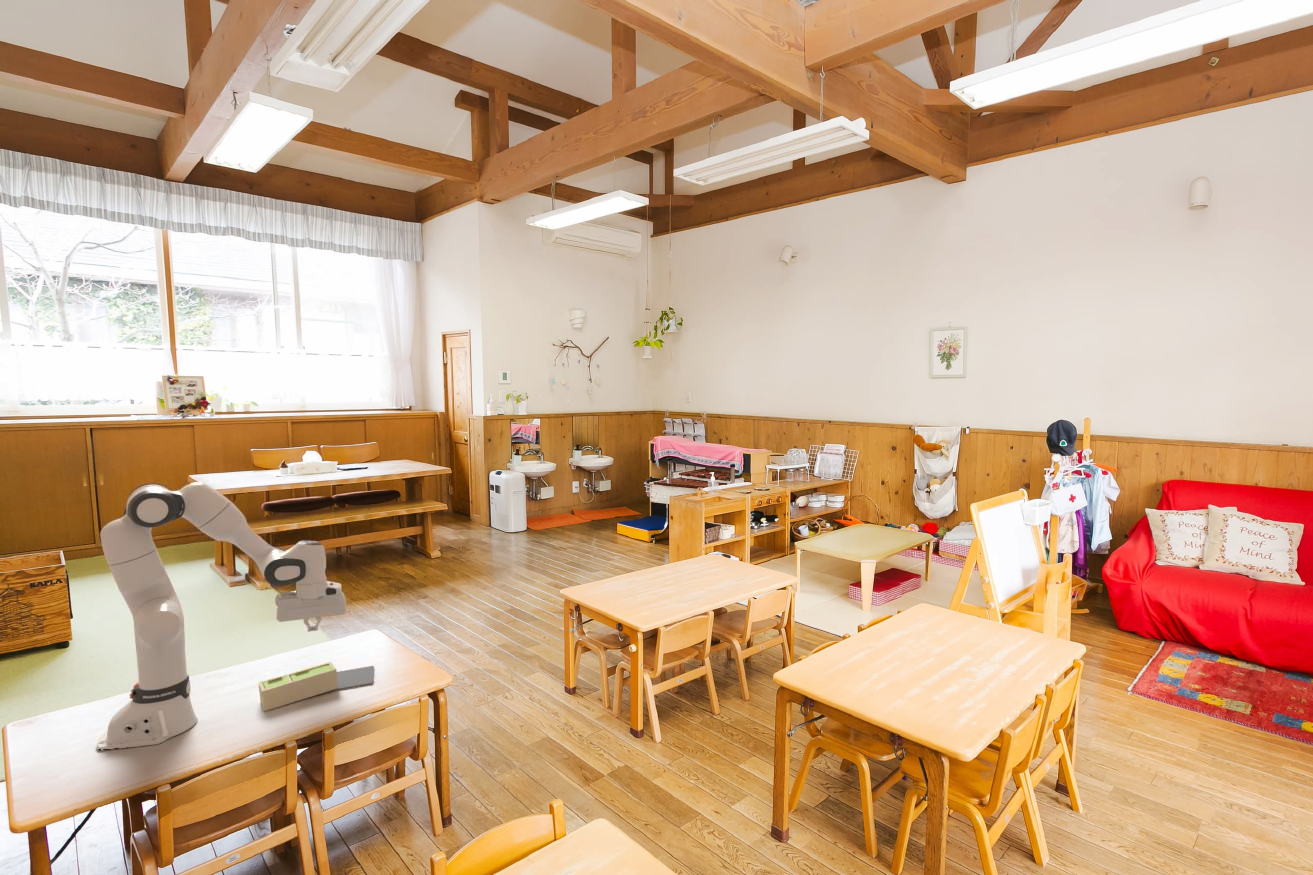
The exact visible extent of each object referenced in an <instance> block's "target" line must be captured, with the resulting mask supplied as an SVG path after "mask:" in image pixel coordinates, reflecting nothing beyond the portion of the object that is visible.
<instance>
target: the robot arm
mask: <svg viewBox="0 0 1313 875" xmlns="http://www.w3.org/2000/svg"><path fill="white" fill-rule="evenodd" d="M180 518H183V519H185V520H187V521H188V522H189V523H191V525H193V526H195V527H196V528H197V529H198V530H199V531H201V532H202V533H203V534H204V535H207V536H208V537H210V538H211V539H214V540H216V542H225V543H226V542H227V543H230V544H232V545H234V546H236V547H237V548H238V549H240V550H241V551H242V552H243V553H245V555H247V556H249V557H250V558H251V559H252V560H253V561H254V562H255V566H256V569H257V571H258V572H259V574H260V575H262V576H263V579H264V580H265V582H267V583H268V584H269V585H271V586H273V587H284V586H288V585H291V584H294V583H295V588H296V589H295V590H293V591H283V592H280V593H279V594H276V596H275V598H274V600H275V605H276V606H277V609H276V620H277V622H279V623H281V622H291V621H301V620H303V624H304V625H305V626H306V627H307V632H308V633H310V632H316V631H318V630H319V624H320V623H321V621H322V618H326V617H334V616H341V615H345V613H346V612H347V610H348V609H347V600H346V595H345V593H344V592H343V591H342V588H343V586H342V584H341V583H339V582H334V581H330V580H328V579H327V578H328V577H327V576H326V568H327V557H326V550H325V546H324V545H323V544H322V543H320V542H319V541H316V540H310V539H307V540H300V541H298V542H297V543H295V544H294V545H293V546H292V547H290V548H289V549H287V550H286V549H284V548H281V547H278V546H273V545H271V544H270V543H268V542H267V541H266V540H265V539H263V538H262V537H261V536H260V535H258V534H257V532H255V531H254V530H253V529H252V528H251V527H250V525H249V524H248V521H247V518H246V517H245V515H244V513H242V512H241V510H240V509H239V508H238V507H237V505H235V503H233V502H232V501H231V500H230V499H228V498H227V497H226V496H225V495H223V494H222V493H220V492H219V491H218V490H216V489H215V488H213V487H211V486H210V485H207V484H206V483H204V482H201V481H196V482H195V481H194V482H192V483H188V484H187V485H184V486H183V487H182V488H181V489H178V490H170V489H169V488H168V487H167V486H165V485H163V484H159V483H154V482H153V483H144V484H142V485H140V486H138V487H136V488H135V489H133V490H132V491H131V492H130V493H129V496H128V498H127V501H126V506H125V509H124V512H123V516H122V517H120V518H117V519H114V520H112V521H110V522H108V523H106V524H105V525H104V526H103V527H102V529H101V530H100V533H99V534H100V535H99V536H100V537H99V538H100V543H101V547H102V550H103V554H104V558H105V560H106V563H107V565H108V567H109V570H110V571H111V574H112V577H113V579H114V581H115V584H116V586H117V588H118V590H119V592H120V594H121V595H122V597H123V599H124V601H125V603H126V605H127V606H128V609H129V611H130V613H131V615H132V619H133V630H134V640H135V652H136V653H135V654H136V662H137V663H136V664H137V674H138V675H137V676H138V681H137V682H135V684H134V685H133V687H132V689H131V690H130V693H129V699H131V700H130V701H128V703H126V704H124V706H123V707H121V708H120V709H119V710H118V711H117V712H116V713H115V714H114V715H113V716H112V718H111V719H110V721H109V723H108V726H107V730H106V731H105V732H104V733H103V734H102V735H101V736H100V738H99V739H98V741H97V743H96V745H97V746H96V748H97V747H98V749H111V750H114V749H113V748H119V749H126V748H127V747H128V748H135V747H144V746H146V747H147V746H153V745H154V746H155V745H159V744H162V743H163V742H165V741H167V740H168V739H171V738H172V737H175V736H177V735H179V734H183V733H184V732H186V731H187V730H190V729H191V728H192V727H193V726H194V725H195V724H197V722H198V717H197V715H196V713H195V711H194V708H193V705H192V702H191V696H190V694H191V681H190V676H189V674H188V673H187V672H188V670H187V669H188V668H187V658H186V657H187V656H186V636H185V635H186V634H185V619H184V613H183V610H182V605H181V603H180V599H179V597H178V595H177V593H176V591H175V589H174V586H173V583H172V581H171V579H170V576H169V574H168V572H167V571H166V568H165V566H164V563H163V561H162V558H161V556H160V553H159V551H158V548H157V546H156V544H155V542H154V539H153V536H152V529H153V528H154V529H155V528H159V527H162V526H165V525H167V524H169V523H170V522H174V521H175V520H178V519H180ZM310 619H316V620H315V621H316V623H315V624H314V623H312V624H311V623H310V622H309V620H310ZM98 749H97V750H98Z"/></svg>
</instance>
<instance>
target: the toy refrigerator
mask: <svg viewBox="0 0 1313 875" xmlns="http://www.w3.org/2000/svg"><path fill="white" fill-rule="evenodd" d="M337 672H338V671H337V669H336V667H335V666H334V664H333V663H332V662H331V661H329V662H325V663H322V664H319V665H315V666H312V667H309V668H305V669H302V670H301V669H300V670H299V671H294V672H291V673H287V674H284V675H280V676H277V677H274V678H270V679H267V680H263V681H260V682H258V691H259V700H260V704H261V707H262V709H263V711H264V712H268V711H270V710H273V709H274V710H275V709H277V708H280V707H282V706H286V705H289V704H292V703H295V702H298V701H301V700H305V699H308V698H311V697H315V696H317V695H321V694H325V693H324V692H327V693H329V692H328V691H331V690H334V689H337V688H338V680H337Z"/></svg>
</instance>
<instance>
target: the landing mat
mask: <svg viewBox="0 0 1313 875" xmlns="http://www.w3.org/2000/svg"><path fill="white" fill-rule="evenodd" d="M374 671H375V670H374V665H371V666H370V665H369V666H364V667H358V668H352V669H346V670H340V671H337V680H338V688H337V689H334V690H331V691H328V692H327V693H330V692H331V693H332V692H337V691H336V690H338V691H341V690H342V689H344V690H347V689H348V688H349V689H353V687H355V688H359V687H358V686H360V687H366V686H371V685H370V684H372V685H373V684H374ZM365 685H366V686H365ZM349 689H348V690H349ZM327 693H326V692H324V693H323V694H327Z"/></svg>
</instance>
